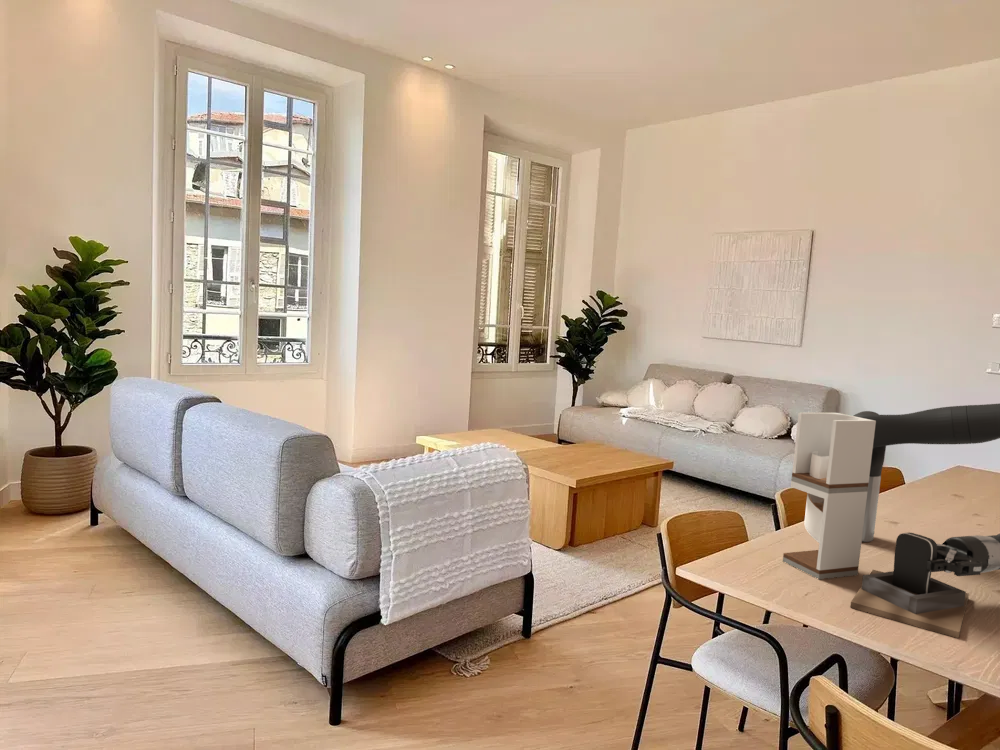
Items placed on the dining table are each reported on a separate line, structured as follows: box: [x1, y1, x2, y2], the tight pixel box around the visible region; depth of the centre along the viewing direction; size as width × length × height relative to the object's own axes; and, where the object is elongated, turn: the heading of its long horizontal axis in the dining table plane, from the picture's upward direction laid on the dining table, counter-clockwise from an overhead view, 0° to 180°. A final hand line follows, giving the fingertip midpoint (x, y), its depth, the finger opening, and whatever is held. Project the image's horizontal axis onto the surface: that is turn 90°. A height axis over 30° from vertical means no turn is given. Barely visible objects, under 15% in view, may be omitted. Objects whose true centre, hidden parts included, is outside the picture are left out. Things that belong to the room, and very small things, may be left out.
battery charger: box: [892, 532, 938, 595], centre depth 141 cm, size 7×4×11 cm, turn 30°
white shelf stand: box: [782, 412, 876, 580], centre depth 157 cm, size 11×11×35 cm
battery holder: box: [849, 569, 970, 639], centre depth 141 cm, size 18×24×4 cm
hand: (912, 559), depth 140 cm, fingers closed on battery charger, 7 cm apart
